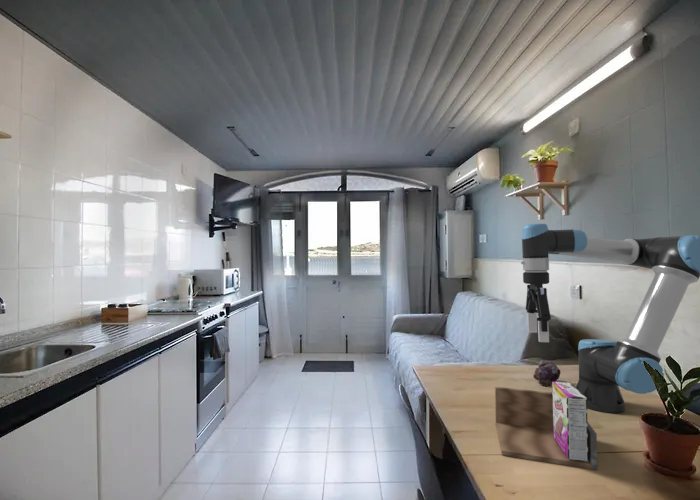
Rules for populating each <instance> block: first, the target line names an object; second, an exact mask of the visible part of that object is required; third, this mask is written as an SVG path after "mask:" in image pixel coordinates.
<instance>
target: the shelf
mask: <svg viewBox="0 0 700 500" xmlns="http://www.w3.org/2000/svg"><path fill="white" fill-rule="evenodd" d="M494 390H495V391H494V393H495V394H494V395H495V396H494V397H495V398H494V399H495V405H494V406H495V412H494V413H495V414H494V415H495V428H496V434H497V439H498V443H499V447H500V453H501V456H503V457H504V456H506V457H512V458H519V459H525V460H530V461H537V462H543V463H550V464H554V465H555V464H556V465H562V466H569V467H575V468H581V469H588V470H594V471H597V470H598V444H597V440H598V439H597V438H598V437H597V434H598V433H597V432H596V431H595V430H594V428H593V427H592V426H591V424H590V423H589V422H588V462H585V461H574V460H569V459H568V458H567V456H566V455H565V453H564V452H563V451H562V449H561V448H560V446H559V445H558V444H557V442H556V441H555V439H554V434H553V394H552V392H551V391H550V392H549V391H541V390H532V389H531V390H530V389H522V388H513V387H502V386H494Z"/></svg>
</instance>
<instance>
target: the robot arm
mask: <svg viewBox="0 0 700 500" xmlns="http://www.w3.org/2000/svg"><path fill="white" fill-rule="evenodd" d="M521 248H522V249H521V250H522V261H520V264H521V265H522V270H523V273H522V282H523V283H524V284H526V285H527V286H526V301H525V302H526V303H525V310H526V313H527V333H531V334H532V333H534V334H537V335H538V342H539V343H550V333H549V332H550V329H549V327H550V326H549V321H550V320H552V316H551V312H550V311H551V310H550V307H549V306H550V305H549V300H548V294H547V293H548V292H547V291H548V289H547V288H546V287H544V285H549V283H550V273H549V270H550V258H549V255H557V256H566V257H568V256H569V257H578V258H587V259H595V260H597V259H599V260H606V261H613V262H614V261H617V262H620V263H621V264H623V265H627V266H635V267H639V268H645V269H650V270H652V271H653V272H654V276H653V278H652V281H651V283H650V285H649V287H648V289H647V291H646V293H645V295H644V297H643V300H642V301H641V303H640V306H639V308H638V309H637V312H636V314H635V317H634V318H633V321H632V323H631V325H630V327H629V329H628V331H627V334H626V336H625V337H624V338H622V339H618V340H617V341H615V340H611V339H610V340H609V339H596V338H595V339H594V338H591V339H588V338H587V339H581V340H580V341H579V342H578V347H577V348H578V349H577V351H578V381H577V384H576V387H575V388H576V389H577V390H578V391H579V392H580V393H582V394H583V395H584V396H585V397H586V398H587V409H590V410H594V411H596V412H603V413H611V414H612V413H614V414H615V413H617V414H618V413H622V412H624V411H625V410H626V402H625V400H624V397H623V394H622V392H621V389H623V390H625V391H627V392H628V391H629V392H632V393H635V394H641V395H642V394H643V395H645V394H646V395H647V394H648V393H649V394H650V393H653V392H654V391H656V390H657V389H656V387H655V385H654V383H653V381H652V379H651V377H650V375H649V374H648V372H647V371H646V369H645V367H644V364H643V361H645V362H646V363H647V364H649V365H650V366H651V367H652V368H654V369H656V370H658V371H659V373H660V374H661V375H662V376H663V377H665V373H664V372H663V371H664V369H663V366H661V364H660V362H661V361H662V357H661V356H660V354H659V349H660V346H661V345H662V343H663V341H664V338H665V336H666V334H667V332H668V330H669V327H670V326H671V323H672V321H673V319H674V318H675V315H676V313H677V310H678V309H679V306H680V304H681V302H682V300H683V297H684V296H685V294H686V291H687V290H688V287H689V286H690V284H694V283H697V282H698V281H699V279H700V235H691V234H690V235H689V234H686V235H677V236H659V237H649V238H626V239H624V240H619V239H609V238H601V237H591V236H587V234H586V232H585V231H584V230H583V229H573V228H572V229H549V228H548V224H546V223H529V224H524V225H523V226H522V229H521ZM620 388H621V389H620Z"/></svg>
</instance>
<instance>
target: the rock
mask: <svg viewBox="0 0 700 500" xmlns="http://www.w3.org/2000/svg"><path fill="white" fill-rule="evenodd" d="M560 375H561V370H560V369H559V367H558V366H557V364H556V363H554V362H553V361H550V360H548V359H541V360H540V361H539V362H538V367H536V368H535V370H534V374H533V375H532V376H533V378H534V379H535V380H538V384H539V385H541V386H543V387H548V386H552V382H557V380H559V379H560Z"/></svg>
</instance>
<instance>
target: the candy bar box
mask: <svg viewBox="0 0 700 500" xmlns="http://www.w3.org/2000/svg"><path fill="white" fill-rule="evenodd" d="M551 387H552V394H553V434H554V439H555V441H556V442H557V444H558V445H559V446H560V448H561V449H562V451H563V452H564V453H565V455H566V456H567V458H568V459H569V460H574V461H585V462H588V423H589V422H588V408H587V398H586V397H585V396H584V395H583V394H582V393H580V392H579V391H578V390H577V389H576V387H575V386H574V385H573V384H572V383H570V382H565V381H555V382H552V384H551Z"/></svg>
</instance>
